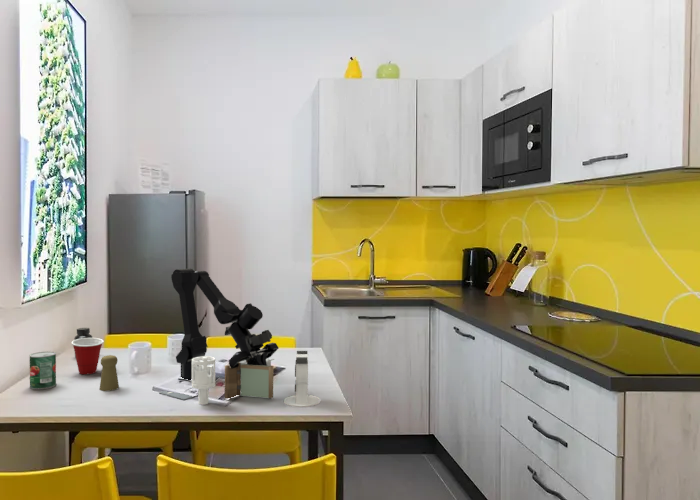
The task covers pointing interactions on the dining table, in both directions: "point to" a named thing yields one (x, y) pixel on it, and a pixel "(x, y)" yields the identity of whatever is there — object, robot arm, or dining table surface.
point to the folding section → (257, 380)
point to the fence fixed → (232, 381)
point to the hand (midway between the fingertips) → (267, 376)
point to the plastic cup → (87, 354)
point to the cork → (109, 373)
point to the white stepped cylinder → (203, 377)
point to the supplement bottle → (83, 334)
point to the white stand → (301, 384)
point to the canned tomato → (42, 370)
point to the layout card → (176, 395)
